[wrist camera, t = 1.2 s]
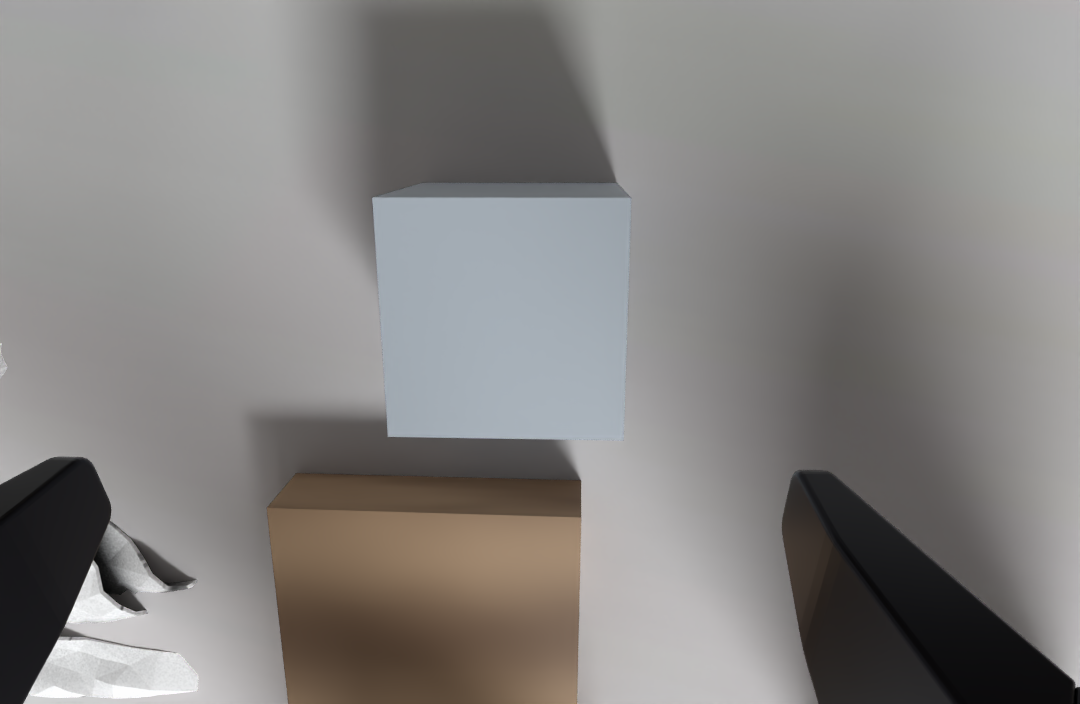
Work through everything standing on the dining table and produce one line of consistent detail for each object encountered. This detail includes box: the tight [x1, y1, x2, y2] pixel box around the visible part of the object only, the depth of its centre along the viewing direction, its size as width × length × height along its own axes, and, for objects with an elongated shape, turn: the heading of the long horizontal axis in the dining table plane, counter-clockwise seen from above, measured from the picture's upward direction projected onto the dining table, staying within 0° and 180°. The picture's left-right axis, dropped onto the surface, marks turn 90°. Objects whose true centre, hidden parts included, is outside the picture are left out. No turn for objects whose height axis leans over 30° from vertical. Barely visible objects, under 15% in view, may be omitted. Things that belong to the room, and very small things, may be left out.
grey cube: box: [372, 183, 631, 441], centre depth 21 cm, size 6×6×6 cm
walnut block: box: [267, 473, 581, 704], centre depth 26 cm, size 10×10×3 cm
